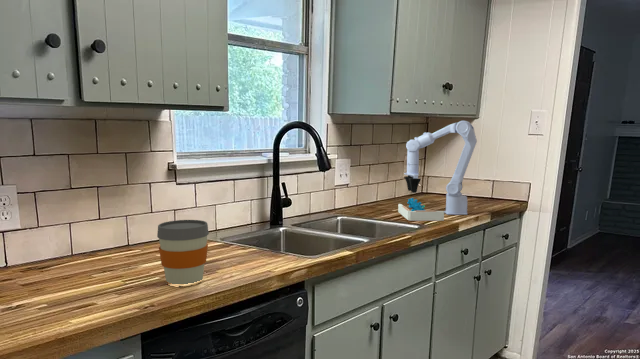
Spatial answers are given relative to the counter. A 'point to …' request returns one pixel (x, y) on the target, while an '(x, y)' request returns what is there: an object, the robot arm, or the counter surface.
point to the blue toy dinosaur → (415, 205)
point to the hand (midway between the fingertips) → (412, 191)
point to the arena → (420, 214)
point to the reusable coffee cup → (183, 250)
